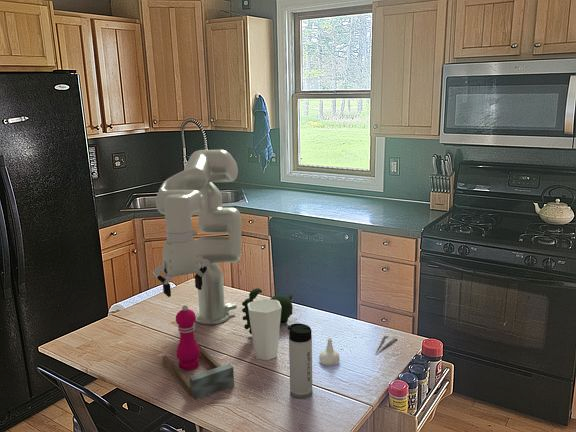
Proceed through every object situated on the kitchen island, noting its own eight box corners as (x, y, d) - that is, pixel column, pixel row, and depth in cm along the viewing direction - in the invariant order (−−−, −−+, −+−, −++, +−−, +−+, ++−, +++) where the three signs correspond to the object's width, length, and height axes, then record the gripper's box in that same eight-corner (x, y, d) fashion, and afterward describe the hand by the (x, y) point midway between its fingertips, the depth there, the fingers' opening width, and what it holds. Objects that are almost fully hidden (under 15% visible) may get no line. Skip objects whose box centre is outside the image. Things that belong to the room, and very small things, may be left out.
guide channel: (199, 352, 166) (198, 335, 165) (234, 385, 147) (233, 367, 145) (163, 363, 160) (161, 345, 159) (193, 400, 140) (192, 380, 139)
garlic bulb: (325, 370, 155) (326, 347, 153) (315, 359, 160) (316, 337, 158) (343, 364, 158) (344, 342, 156) (332, 354, 163) (333, 332, 161)
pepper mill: (195, 372, 154) (191, 311, 150) (173, 370, 156) (168, 309, 151) (204, 360, 161) (200, 301, 157) (182, 359, 162) (178, 300, 158)
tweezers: (384, 337, 175) (384, 332, 175) (397, 340, 173) (397, 335, 172) (364, 362, 161) (364, 357, 161) (378, 366, 159) (378, 361, 158)
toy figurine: (260, 349, 171) (303, 318, 189) (254, 298, 165) (300, 271, 184) (239, 342, 177) (283, 312, 195) (233, 292, 171) (279, 266, 190)
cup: (287, 350, 167) (286, 301, 163) (276, 365, 157) (275, 313, 154) (255, 345, 170) (254, 297, 167) (243, 359, 161) (241, 309, 157)
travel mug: (288, 386, 146) (286, 321, 141) (310, 385, 146) (310, 320, 142) (289, 399, 139) (288, 332, 135) (313, 397, 140) (313, 330, 135)
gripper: (202, 229, 157) (205, 282, 160) (146, 238, 147) (151, 294, 151) (212, 234, 150) (215, 289, 154) (155, 244, 141) (159, 302, 145)
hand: (183, 292), depth 152 cm, fingers open, 9 cm apart
